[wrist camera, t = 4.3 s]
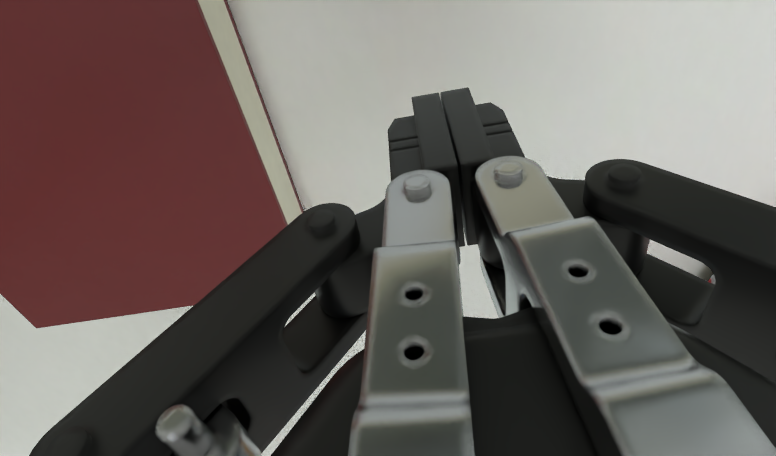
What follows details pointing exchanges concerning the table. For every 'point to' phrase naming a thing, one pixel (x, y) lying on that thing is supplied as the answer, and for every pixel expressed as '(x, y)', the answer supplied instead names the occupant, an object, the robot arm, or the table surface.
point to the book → (130, 157)
